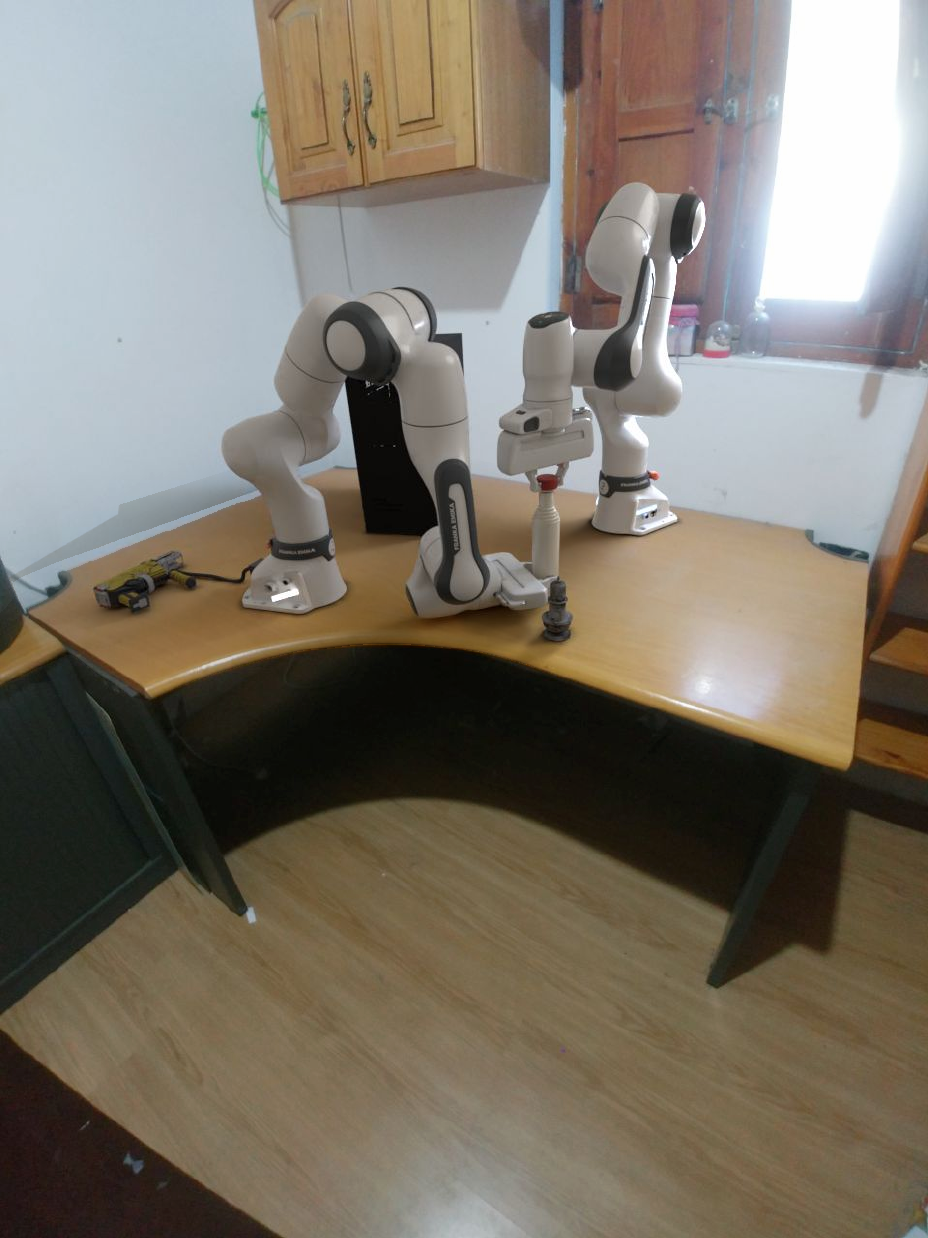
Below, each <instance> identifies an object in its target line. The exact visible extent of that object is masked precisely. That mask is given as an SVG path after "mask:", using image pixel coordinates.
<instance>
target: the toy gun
mask: <svg viewBox="0 0 928 1238" xmlns="http://www.w3.org/2000/svg"><path fill="white" fill-rule="evenodd" d="M180 558H181V562H179V561H177V560H178V559H180ZM144 562H145V563H143V562H142V563H143V564H141V563H140V564H141V565H140V564H139V565H136V566H134V567H132V568H130V569H128V570H126V571H124V572H122V573H119V574H117V575H115V576H113V577H111V578H109V579H107V580H104V581H103V582H101V583H98V584H96V585H95V586H93V587H92V590H93V593H94V596H95V600H96V602H97V605H99V606H100V607H101V608H105V609H108V608H115V607H121V606H127V607H129V609H130V614H136V613H138V612H141V611H142V610H145V609H147V608H150V607H151V605H150V601H149V596H148V595H150V594H151V593H153V592H154V591H155V589H156V588H155V587H158V586H160V585H163V584H165V583H168V581H172V582H175V583H178V584H180V585H182V586H185V587H187V588H188V589H193V588H195V587H196V586H197V580H196V579H197V578H196V577H194V576H187V575H184V574H182V573H179V572H177V571H171V570H172V569H176V570H178V568H180V567H183V566H185V565H184V564H185V562H184V558H183V554H182V552H181V551H178V550H177V551H175V550H174V549H172V550H170V551H168V552H166V553H164V554H161V555H159V556H157V557H156V558H153V559H152V558H151V559H149V560H147V561H144Z"/></svg>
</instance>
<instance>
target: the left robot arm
mask: <svg viewBox="0 0 928 1238" xmlns="http://www.w3.org/2000/svg"><path fill="white" fill-rule="evenodd" d="M437 330H438V317H437V312H436V309H435V308H434V305H433V303H432V302H431V300H430V298H429V297H428V296H427V295H426V294H424V293H423V292H421V290H418V289H415V288H414V287H413V288H412V287H408V286H397V287H393V288H390V289H383V290H382V289H381V290H377V291H373V292H370V293H368V294H366V295H364V296H362V297H358V298H357V299H354V300H353V301H348V300H346V299H345V298H344V297H342V296H341V295H338V294H335V293H331V292H320V293H316V294H314V295H313V296H311V297H310V298H309V299H308V300H307V302H306V303H305V305H304V306H303V308H302V310H301V311H300V312H299V315H298V316H297V318H296V320H295V322H294V324H293V325H292V328H291V330H290V332H289V334H288V337H287V339H286V343H285V346H284V348H283V351H282V354H281V357H280V359H279V362H278V365H277V367H276V370H275V374H274V376H273V377H274V378H273V386H274V389H275V392H276V394H277V396H278V398H279V399H280V401H281V403H283V404H281V406H280V407H279V408H277V409H276V410H273V411H271V412H266V413H263V414H259V415H256V416H252V417H247V418H245V419H243V420H241V421H239V422H237V423H236V424H234V425H232V426H231V427H229V428H227V429H226V430H225V431H224V433H223V435H222V438H221V442H220V443H221V445H220V446H221V447H220V449H221V455H222V457H223V461H224V462H225V465H227V467H228V468H229V470H230V471H232V472H233V474H234V475H236V476H237V477H239V478H240V479H243V480H245V481H247V482H248V483H250V484H251V485H253V486H254V488H256V489H257V491H258V492H259V493H260V494H261V496H262V497H263V500H264V501H265V504H266V505H267V509H268V512H269V515H270V516H269V517H270V520H271V523H272V527H273V532H272V536H271V537H269V539H268V541H267V543H266V544H265V547H266V548H265V549H266V550H267V551H268V550H269V549H270V553H268V554H267V555H266V556H265V557H264V558H263V557H260V558H258V559H257V560H255V561H253V562H252V563H250V564H248V565H247V567H244V568H243V569H242V570H241V574H240V577H239V578H237V579H232V578H227V577H224V576H220V575H217V574H211V573H202V572H201V573H200V572H190V571H183V570H179V569H172V570H171V571H177V572H179V573H182V574H184V575H187V576H189V577H193V578H206V579H214V580H219V581H222V582H226V583H233V584H234V583H235V584H240V583H242V582H244V581H245V578H246V574H247V573H248V572H249V574H250V578H249V587H248V588H247V589H246V591H245V592H244V594H243V595H242V598H241V604H242V606H243V608H246V609H247V608H248V609H255V610H261V611H262V610H263V611H270V612H279V613H287V614H294V615H295V614H296V615H303V614H306V613H308V612H311V611H312V610H315V609H317V608H320V607H321V608H322V607H324V606H327V605H331V604H333V603H334V602H336V601H338V600H340V599H341V598H342V597H344V596H345V595H346V593H347V591H348V587H347V586H348V585H346V582H345V580H344V579H343V576H342V573H341V571H340V567H339V565H338V563H337V562H338V561H337V559H336V546H335V540H334V536H333V532H332V529H331V528H330V527H329V520H328V514H327V509H326V502H325V499H324V496H323V494H322V493H321V492H320V491H319V490H318V489H317V488H315V487H314V486H311V485H309V484H306V483H304V482H303V480H302V477H301V475H300V473H299V468H300V467H302V466H305V465H308V464H310V463H313V462H316V461H319V460H322V459H323V458H324V457H326V456H327V455H329V454H330V453H331V452H333V451H335V449H336V448H338V446H339V445H340V441H341V436H342V435H341V434H342V431H341V426H340V423H339V420H338V418H337V416H336V414H335V413H334V409H335V408H334V407H335V405H336V402H337V400H338V398H339V395H340V393H341V391H342V389H343V386H344V385H345V380H346V377H347V376H348V377H351V378H355V379H359V380H365V381H368V382H370V383H372V384H375V385H377V386H383V387H384V386H385V385H389V384H388V383H389V382H390V381H391V382H392V383H393V384H394V386H395V387H396V389H397V391H398V394H399V399H400V407H401V418H402V426H403V433H404V438H405V442H406V445H407V449H408V452H409V455H410V458H411V460H412V462H413V464H414V466H415V467H416V469H417V471H418V472H419V474H420V475H421V477H422V479H423V480H424V482H425V484H426V486H427V488H428V490H429V492H430V494H431V496H432V498H433V501H434V504H435V507H436V512H437V518H438V526H435V527H433V528H431V529H429V530H428V531H427V532H426V533H425V534H424V535H421V537H420V540H419V542H418V547H417V549H418V551H417V558H416V561H415V565H414V568H413V571H412V573H411V575H410V577H409V578H408V579H407V580H406V581H405V583H404V584H405V585H404V590H405V594H406V598H407V600H408V602H409V605H410V607H411V609H412V612H413V613H414V615H416V616H417V617H418V618H421V619H437V618H444V617H449V616H453V615H454V616H455V615H458V614H459V613H462V612H464V611H477V610H478V611H479V610H483V609H487V608H488V609H489V608H492V607H497V606H500V605H501V606H502V607H508V608H509V609H510V610H515V611H525V610H532V609H539V608H544V607H546V605H547V604H548V602H547V601H548V590H547V589H548V588H549V587H550V584H551V582H552V581H554V580H557V577H556V576H554V575H550V576H547V578H546V579H545V580H542V579H540V580H537V579H536V578H535V577H534V576H533V575H532V574H531V562H532V561H531V562H529V561H519V560H518V559H517V558H516V557H515V556H514V555H513V554H512V553H510V552H506V551H505V552H504V551H503V552H495V553H488V554H484V555H482V554H481V551H480V546H479V539H478V529H477V520H476V512H475V511H476V509H475V502H474V494H473V486H472V470H471V469H472V468H471V450H470V448H471V447H470V445H471V444H470V420H469V419H470V417H469V404H468V393H467V388H466V381H465V375H464V376H463V371H462V367H461V363H460V360H459V357H458V355H457V353H456V352H455V351H454V350H453V349H452V348H450V347H448V346H446V345H444V344H441V343H436V342H432V341H433V339H434V337H435V334H437ZM383 380H385V381H383ZM381 381H383V382H381ZM145 562H146V561H143V562H141V563H140V564H139V565H141V564H143V563H145ZM171 571H170V572H171Z"/></svg>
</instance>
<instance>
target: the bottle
mask: <svg viewBox="0 0 928 1238" xmlns="http://www.w3.org/2000/svg"><path fill="white" fill-rule="evenodd" d="M554 495H555V490H551V491H542V490H541V491H539V492H538V505H537V507H536V508H535V510H534V512H533V514H532V517H531V572H530V573H531V574H532V575H533V576H534V577H535V578H536V579H537V580H540V579H542V580H545V579H546V578H547V576H550V575H554V576H556V577H558V576H559V570H560V566H559V565H560V533H561V516H560V514H559V512H558V510H557V508H556V506H555V504H554ZM547 590H548V597H549V596H550V587H549V588H548V589H547ZM548 602H549V601H547V603H548Z"/></svg>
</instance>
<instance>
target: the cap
mask: <svg viewBox="0 0 928 1238" xmlns="http://www.w3.org/2000/svg"><path fill="white" fill-rule="evenodd" d="M535 477H536V479H537V481H538V482H542V486H541V488H542V491H551V490H553V491H555V490H556V489H557V488H558V487H559V486H558V479H557V476H556V475H555V474H553V473H542V474H539V475H538V474H537V475H536V476H535Z"/></svg>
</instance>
